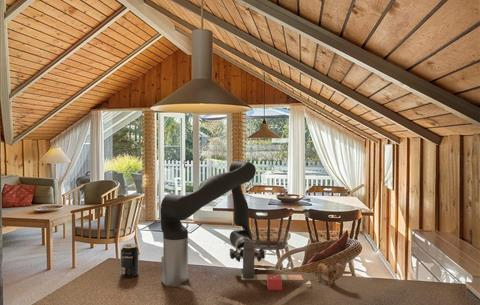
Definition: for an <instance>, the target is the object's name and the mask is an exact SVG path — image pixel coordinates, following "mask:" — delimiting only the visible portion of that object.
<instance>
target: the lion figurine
mask: <svg viewBox="0 0 480 305" xmlns="http://www.w3.org/2000/svg"><path fill="white" fill-rule="evenodd" d="M345 272H346V269H345V268H344V267H343V266H342V264H341V263H337V262H336V263H334V264H331V265H329V266H327V265H326V264H325V263H321V262H320V263H319V264H318V266H317V270H316V273H315V276H317V282H318V283H321V282H322V281H321V279H323V276H324V277H326V278H327V281H328V288H333V287H337V284H336V283H335V281H338V279H339V278H341V277H342V276H343V275H344V274H345Z"/></svg>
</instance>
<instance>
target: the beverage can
mask: <svg viewBox="0 0 480 305" xmlns="http://www.w3.org/2000/svg"><path fill="white" fill-rule="evenodd" d="M138 274H139V248H138V245H137V244H136V243H126V244H123V245H122V248H120V276H121V277H123V278H134V277H135V276H137V275H138Z"/></svg>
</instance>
